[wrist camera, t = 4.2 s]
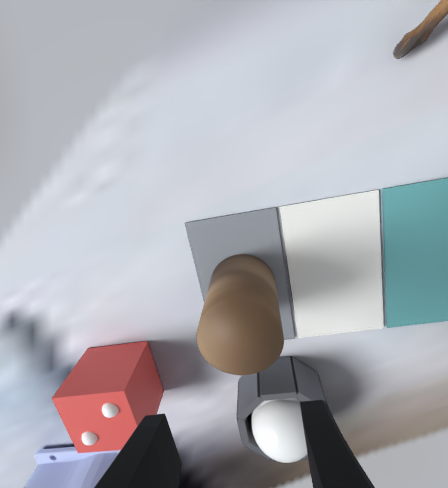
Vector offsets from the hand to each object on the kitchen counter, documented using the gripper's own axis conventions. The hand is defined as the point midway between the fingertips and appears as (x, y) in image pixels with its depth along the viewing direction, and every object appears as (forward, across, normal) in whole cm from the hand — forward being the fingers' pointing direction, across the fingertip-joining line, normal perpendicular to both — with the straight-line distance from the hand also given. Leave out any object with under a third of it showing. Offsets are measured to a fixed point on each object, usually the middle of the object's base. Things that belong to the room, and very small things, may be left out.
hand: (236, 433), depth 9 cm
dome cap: (+9, -1, +8) cm, 12 cm away
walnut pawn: (+9, 0, 0) cm, 9 cm away
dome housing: (+9, -1, +8) cm, 12 cm away
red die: (+9, +8, +5) cm, 14 cm away
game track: (+9, -5, 0) cm, 11 cm away
